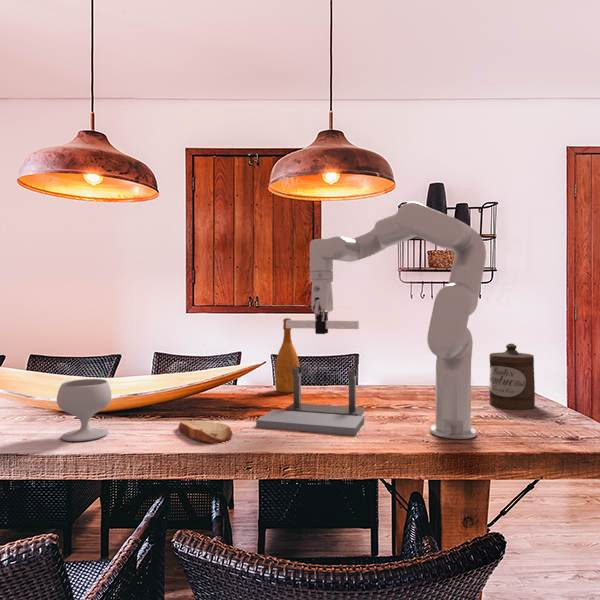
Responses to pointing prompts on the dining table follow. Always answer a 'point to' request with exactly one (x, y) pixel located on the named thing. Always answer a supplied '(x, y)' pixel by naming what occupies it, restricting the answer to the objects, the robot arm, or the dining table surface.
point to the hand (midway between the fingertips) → (321, 333)
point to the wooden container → (512, 379)
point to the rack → (325, 409)
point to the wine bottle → (286, 363)
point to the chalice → (84, 405)
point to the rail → (327, 324)
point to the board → (311, 422)
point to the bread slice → (206, 431)
